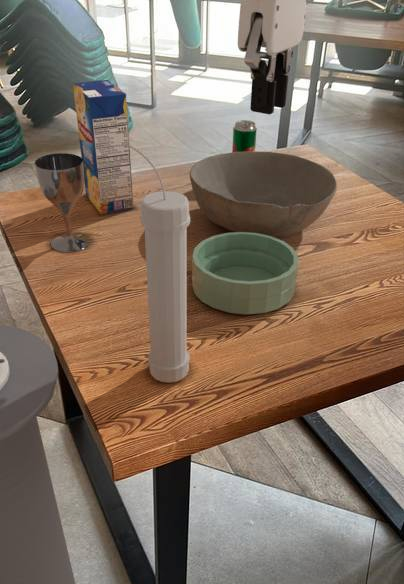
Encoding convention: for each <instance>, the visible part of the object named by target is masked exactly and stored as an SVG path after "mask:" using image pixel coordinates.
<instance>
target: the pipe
mask: <svg viewBox="0 0 404 584" xmlns="http://www.w3.org/2000/svg"><path fill="white" fill-rule="evenodd" d="M129 147H130V148H131V149H132V150H134V151H135V152H137V153H138V154H139V155H141V156H142V157H143V158H144V159H145V160H146V161H147V162H148V163H149V165H150V166H151V168H152V169H153V170H154V172H155V174H156V175H157V178H158V181H159V182H160V186H161V189H162V191H155V192H151V193H148V194H146V195H144V196H143V197H142V198H141V201H140V212H141V213H140V218H139V219H140V225H141V226H142V227H143V228H144V244H145V245H144V246H145V247H144V248H145V266H146V285H147V306H148V323H149V325H148V326H149V342H150V343H149V344H150V345H149V346H150V347H149V348H150V351H149V353H148V355H147V362H148V365H149V373H150V375H151V376H152V378H154V380H156V381H158V382H160V383H167V384H170V383H177V382H179V381H182V380H183V379H184V378H186V376H187V375H188V373H189V368H190V365H189V364H190V361H191V355H190V353H189V351H188V349H187V348H188V347H187V346H188V344H187V343H188V341H187V338H188V335H187V334H188V333H187V331H188V329H187V322H188V320H187V317H188V316H187V313H188V312H187V311H188V310H187V309H188V305H187V304H188V303H187V299H188V298H187V296H188V295H187V293H188V290H187V289H188V288H187V287H188V284H187V283H188V280H187V279H188V278H187V277H188V276H187V275H188V274H187V268H188V267H187V266H188V265H187V260H188V259H187V258H188V257H187V255H188V254H187V252H188V251H187V250H188V249H187V248H188V246H187V245H188V244H187V243H188V240H187V239H188V238H187V237H188V235H187V228H188V227H189V225H190V223H191V215H190V202H189V200H188V197H187V196H186V195H185V194H183V193H181V192H176V191H170V190H169V191H168V190H165V186H164V184H163V180H162V177H161V175H160V173H159V171H158V170H157V168H156V166H155V165H154V164H153V162H152V161H151V160H150V158H148V156H146V155H145V154H144V153H143V152H142V151H140V150H139V149H137V148H136V147H134V146H133V145H131V144H129Z"/></svg>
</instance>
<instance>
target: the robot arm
mask: <svg viewBox="0 0 404 584" xmlns="http://www.w3.org/2000/svg"><path fill="white" fill-rule="evenodd" d="M307 2H308V0H240V6H239V15H238V16H239V17H238V29H237V48H238V50H239V51H240V52H241V53H244V54H245V55H244V60H243V61H244V64H245V65H246V66H247V67H249V69H250V79H251V93H250V111H251V112H253V113H257V114H258V113H259V114H265V115H272V114H273V113H274V112H275V108H280V109H282V108H284V107H286V105H287V95H288V86H289V75H290V73H291V66H292V58H293V56H294V53H295V51H296V49H297V47H298V45H299V44H300V43H301V41H302V40H303V36H304V30H305V24H306V16H307V5H308V3H307ZM262 48H265V49H264V51H261V50H262ZM266 60H267V62H266ZM9 375H10V368H9V365H8V361H7V359H6V357H5V356H4V355H3V354H2V353H1V352H0V390H1V389H2V388H3V387H4V386H5V384H6V382H7V381H8V378H9Z"/></svg>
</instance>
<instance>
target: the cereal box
mask: <svg viewBox="0 0 404 584" xmlns="http://www.w3.org/2000/svg"><path fill="white" fill-rule="evenodd" d="M72 88H73V96H74V106H75V112H76V121H77V129H78V130H77V131H78V138H79V139H78V140H79V146H80V147H79V148H80V157H81V158H82V159H83V165H84V191H85V195H86V196H87V198H88V199H89V200H90V202H91V203H92V205H93V206H94V207H95V209H96V210H97V211H98V213H99V214H100V215H106V214H112V213H118V212H124V211H129V210H133V209H134V197H133V182H132V181H133V180H132V165H131V150H130V147H129V146H130V133H129V119H128V117H129V115H128V106H127V105H128V103H127V102H128V101H127V93H126V92H125V91H123V90H122V89H121V88H119V87H117V86H116V85H115V84H114V83H112V82H111V81H110V80H108V79H103V80H93V81H82V82H72Z"/></svg>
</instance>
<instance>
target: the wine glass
mask: <svg viewBox="0 0 404 584" xmlns="http://www.w3.org/2000/svg"><path fill="white" fill-rule="evenodd" d="M34 168H35V173H36V178H37V182H38V185H39V187H40V190H41V192H42V194H43V196H44V197H45V198H46V200H47V201H49V202H50V203H51V204H52V205H53V206H54V207H56V208H57V209H58V210H59V212H60V213H61V215H62V217H63V220H64V224H65V229H66V233H65V234H61V235H58V236H56V237H55V238H53V239H52V240H51V241H50V246H51V248H52V249H53V250H55V251H58V252H61V253H73V252H78V251H81V250H84V249H86V248H87V247H89V246H90V244H91V239H90V237H88V236H86V235H85V234H81V233H72V228H71V227H72V226H71V213H72V210H73V208H74V206H75V205H76V204H77V202H78V201H79V200H80V199H81V197H82V195H83V191H84V189H85V182H84V165H83V159H82V157H81V155H77V154H74V153H68V152H67V153H64V152H62V153H61V152H59V153H49V154H46V155H43V156H40V157H38V158H36V160H35V161H34Z"/></svg>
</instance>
